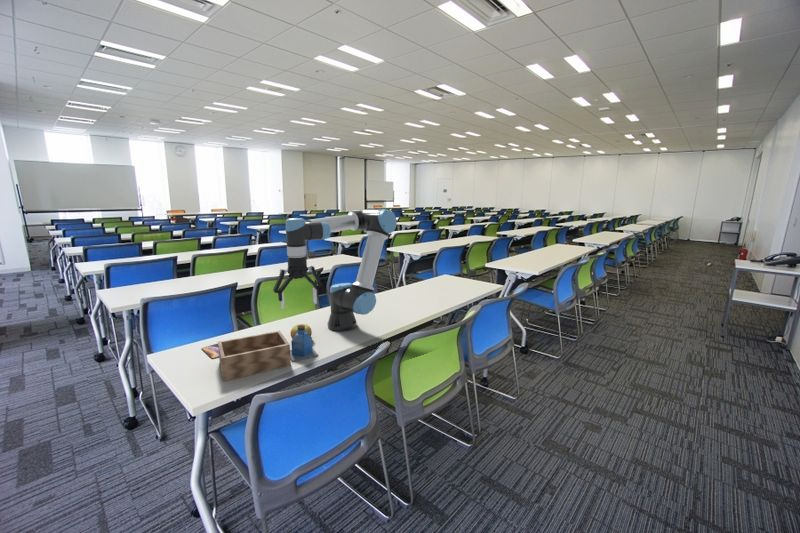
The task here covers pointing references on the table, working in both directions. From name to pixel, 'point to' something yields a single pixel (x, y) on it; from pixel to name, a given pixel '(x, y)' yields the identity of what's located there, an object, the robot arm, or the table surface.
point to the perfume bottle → (301, 342)
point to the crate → (253, 354)
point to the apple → (294, 329)
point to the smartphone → (211, 351)
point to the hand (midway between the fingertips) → (299, 305)
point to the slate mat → (297, 358)
